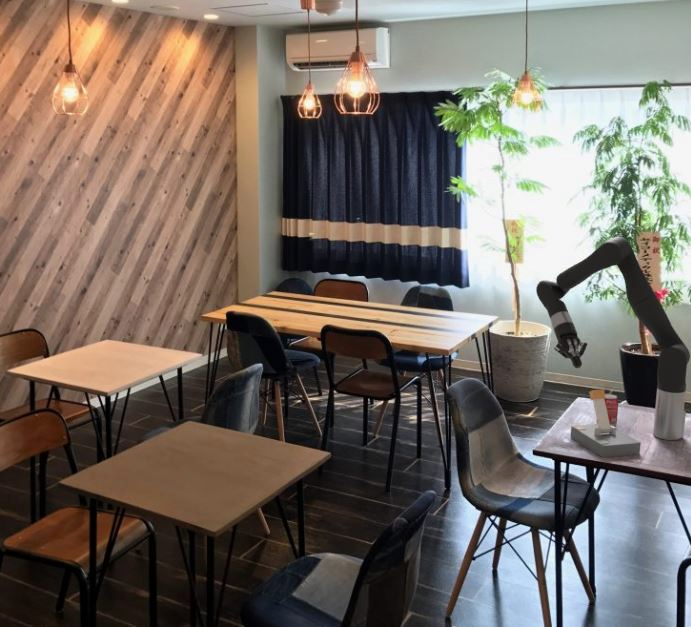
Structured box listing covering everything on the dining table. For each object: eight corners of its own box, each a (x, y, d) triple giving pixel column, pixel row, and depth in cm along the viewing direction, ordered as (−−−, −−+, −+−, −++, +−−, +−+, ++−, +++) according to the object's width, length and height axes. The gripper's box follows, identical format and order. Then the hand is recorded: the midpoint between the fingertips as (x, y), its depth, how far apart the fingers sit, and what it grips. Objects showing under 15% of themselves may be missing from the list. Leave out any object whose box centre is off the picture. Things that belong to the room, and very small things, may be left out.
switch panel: (605, 433, 286) (607, 416, 285) (639, 454, 267) (641, 435, 266) (570, 436, 283) (571, 419, 281) (602, 457, 264) (603, 439, 262)
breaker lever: (609, 433, 275) (600, 391, 280) (613, 431, 273) (604, 389, 278) (598, 434, 274) (589, 391, 279) (601, 432, 272) (592, 390, 277)
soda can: (600, 422, 298) (603, 391, 295) (619, 427, 293) (622, 395, 291) (592, 427, 292) (595, 396, 290) (611, 432, 288) (614, 400, 286)
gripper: (551, 321, 294) (566, 362, 284) (583, 320, 297) (599, 360, 288) (543, 332, 300) (557, 373, 290) (575, 331, 303) (590, 371, 294)
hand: (578, 367), depth 289 cm, fingers closed
